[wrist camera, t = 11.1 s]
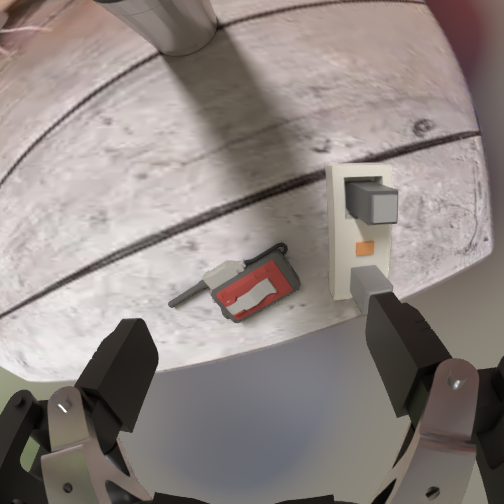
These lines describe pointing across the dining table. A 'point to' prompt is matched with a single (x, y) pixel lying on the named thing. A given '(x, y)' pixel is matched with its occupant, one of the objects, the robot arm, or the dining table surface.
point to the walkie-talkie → (248, 284)
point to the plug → (372, 202)
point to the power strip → (356, 237)
